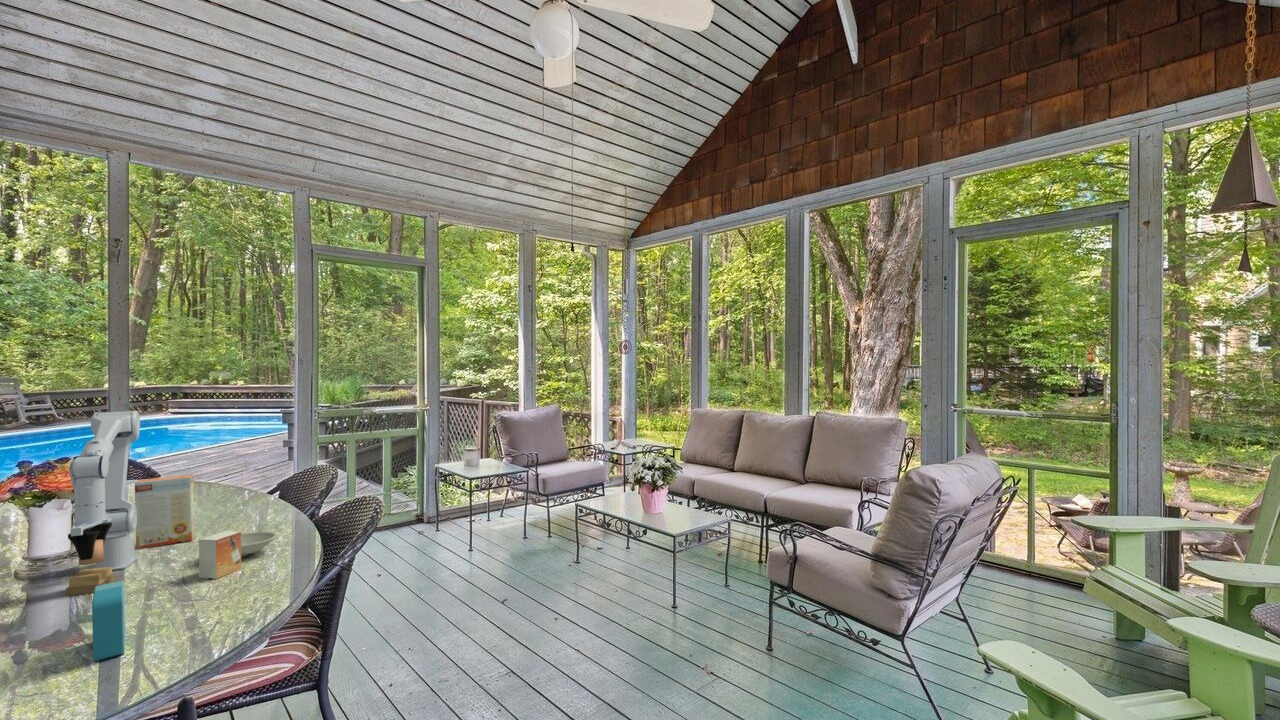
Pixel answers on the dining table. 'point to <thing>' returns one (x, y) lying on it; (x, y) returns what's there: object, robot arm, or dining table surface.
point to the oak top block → (90, 577)
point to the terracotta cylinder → (95, 554)
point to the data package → (108, 620)
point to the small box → (219, 554)
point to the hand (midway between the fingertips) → (91, 556)
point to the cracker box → (164, 510)
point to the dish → (255, 541)
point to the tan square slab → (87, 588)
